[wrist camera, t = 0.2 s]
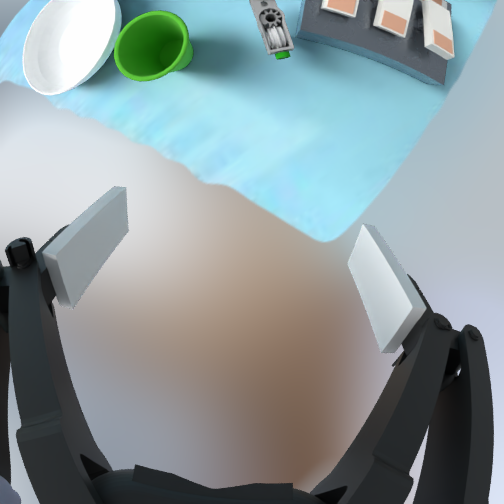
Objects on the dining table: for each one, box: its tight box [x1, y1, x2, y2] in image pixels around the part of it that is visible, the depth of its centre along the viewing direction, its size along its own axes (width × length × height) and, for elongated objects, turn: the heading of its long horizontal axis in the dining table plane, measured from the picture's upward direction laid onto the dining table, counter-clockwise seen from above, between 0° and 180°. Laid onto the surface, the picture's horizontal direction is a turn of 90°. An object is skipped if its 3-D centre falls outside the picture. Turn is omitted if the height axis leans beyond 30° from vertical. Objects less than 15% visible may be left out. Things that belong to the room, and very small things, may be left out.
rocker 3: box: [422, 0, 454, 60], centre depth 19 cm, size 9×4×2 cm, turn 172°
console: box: [295, 0, 451, 85], centre depth 22 cm, size 16×22×6 cm
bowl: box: [23, 0, 122, 95], centre depth 24 cm, size 20×20×6 cm
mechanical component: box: [249, 0, 294, 60], centre depth 24 cm, size 3×10×10 cm, turn 16°
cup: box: [114, 10, 193, 81], centre depth 26 cm, size 9×9×11 cm
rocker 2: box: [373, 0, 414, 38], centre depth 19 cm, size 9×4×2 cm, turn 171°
